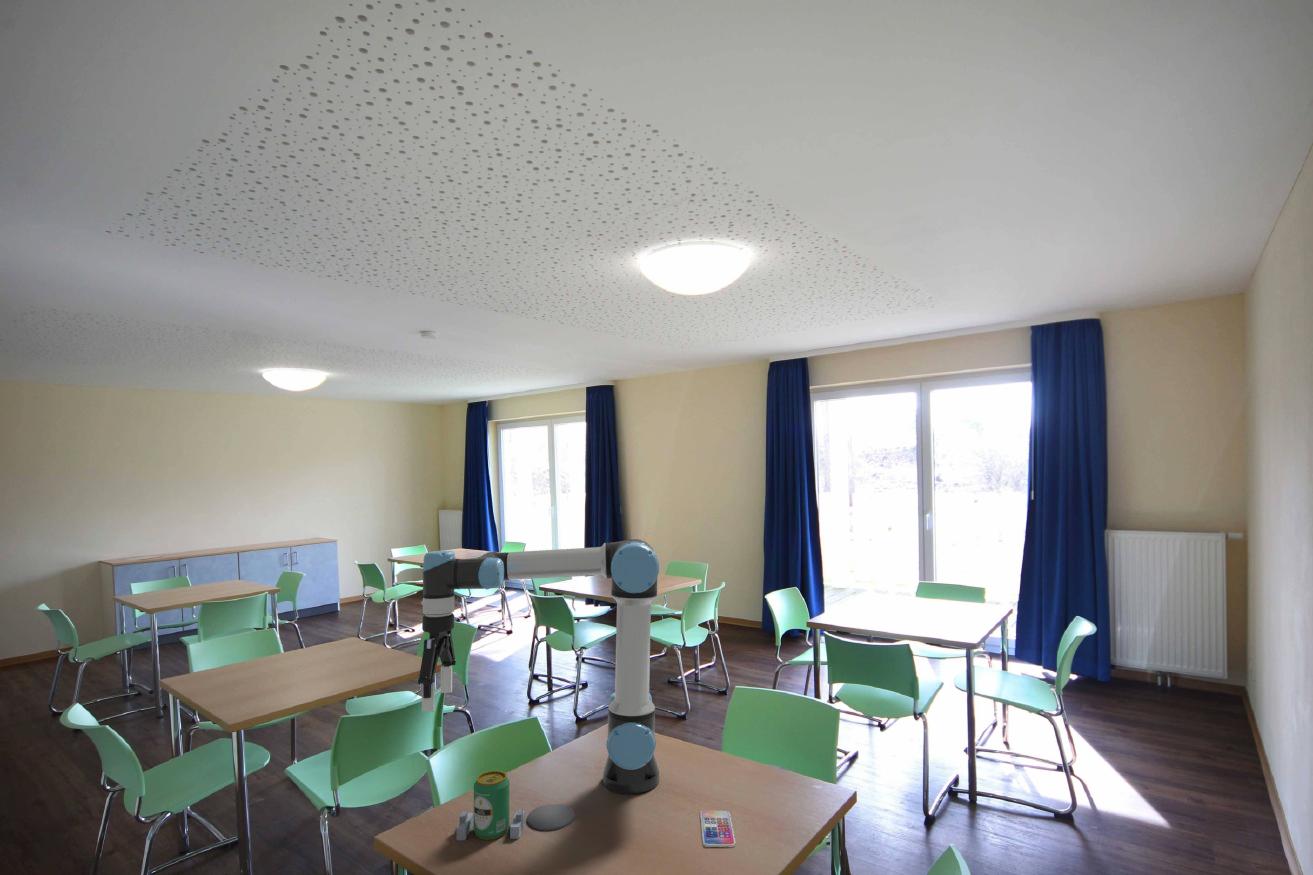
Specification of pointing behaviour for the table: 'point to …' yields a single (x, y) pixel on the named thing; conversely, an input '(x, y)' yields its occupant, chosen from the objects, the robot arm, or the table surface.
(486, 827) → the beverage can
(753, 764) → the table surface
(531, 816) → the coaster
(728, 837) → the smartphone
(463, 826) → the twin notched blocks
